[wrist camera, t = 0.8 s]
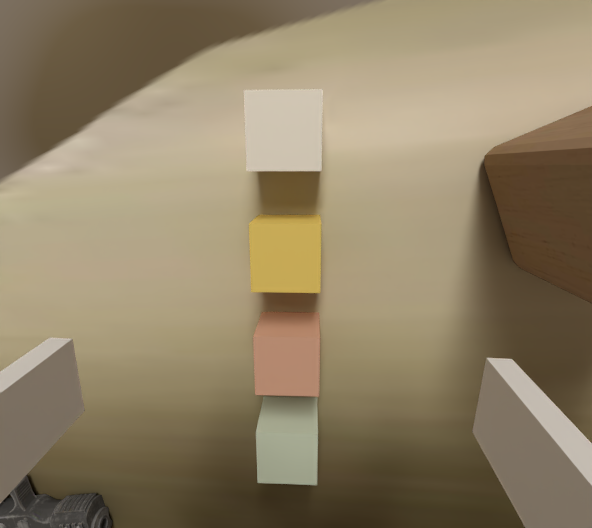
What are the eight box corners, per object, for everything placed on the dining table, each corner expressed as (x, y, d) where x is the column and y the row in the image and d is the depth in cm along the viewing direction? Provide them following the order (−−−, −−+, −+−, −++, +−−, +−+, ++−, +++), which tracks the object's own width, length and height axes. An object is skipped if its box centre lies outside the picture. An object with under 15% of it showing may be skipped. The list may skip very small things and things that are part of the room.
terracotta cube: (318, 363, 34) (319, 396, 29) (263, 362, 34) (255, 394, 29) (318, 312, 33) (320, 337, 28) (262, 311, 33) (253, 336, 28)
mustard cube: (319, 273, 32) (320, 293, 27) (260, 273, 32) (251, 292, 27) (319, 214, 30) (321, 224, 26) (259, 214, 31) (248, 223, 26)
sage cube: (316, 442, 36) (317, 485, 31) (265, 440, 36) (257, 482, 31) (317, 396, 35) (317, 434, 30) (263, 395, 35) (255, 432, 30)
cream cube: (320, 170, 29) (321, 171, 25) (257, 170, 30) (246, 171, 25) (321, 102, 28) (322, 89, 23) (255, 103, 28) (243, 90, 24)
